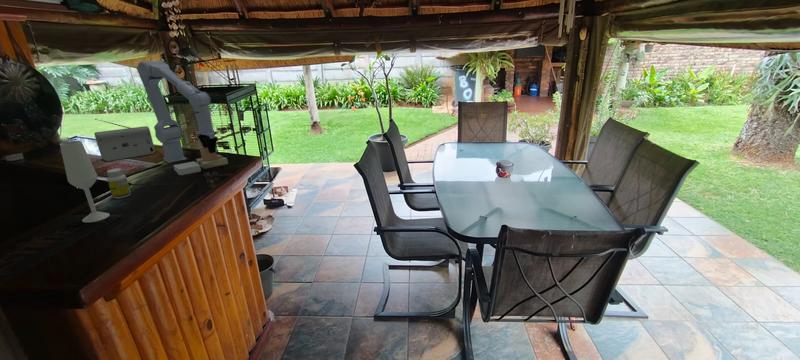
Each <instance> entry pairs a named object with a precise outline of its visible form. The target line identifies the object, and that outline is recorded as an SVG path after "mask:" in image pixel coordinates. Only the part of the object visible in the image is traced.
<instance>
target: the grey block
mask: <svg viewBox="0 0 800 360" xmlns="http://www.w3.org/2000/svg"><path fill="white" fill-rule="evenodd" d="M173 169H174V172H175V171H176V172H177V173H176V172H175V173H176V174H178V175H179V176H180V175H181V176H184V175H185V174H186V175H189V174H195V173H200V172H202V170H201V169H202V167H201V166H200V165H199V164H197V162H196V161H189V162H188V161H187V162H184V163H179V164H178V163H177V164H173Z"/></svg>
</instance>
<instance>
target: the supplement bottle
mask: <svg viewBox="0 0 800 360" xmlns="http://www.w3.org/2000/svg"><path fill="white" fill-rule="evenodd" d="M106 172H107V176H108V177H107V178H106V182H107V185H108V186H109V190H110V193H111V196H112V198H114V199H116V200H117V199H124V198H127V197H129V196H131V195H132V191H131V189H130V185H129V182H128V178H127V176H126V175H125V174H124V173H123V170H122V168H119V167H118V168H111V169H108V170H107V171H106Z"/></svg>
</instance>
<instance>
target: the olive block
mask: <svg viewBox="0 0 800 360" xmlns="http://www.w3.org/2000/svg"><path fill="white" fill-rule="evenodd" d="M217 158H218V159H216V160H211V161H204V160H203V159H202V157H199V158H195V162H196V163H197V164H199V165H200V168H201V169H204V170H205V169H210V168H215V167H221V166H225V165H229V160H228V158H227V157H224V156H222V155H221V154H218V153H217Z"/></svg>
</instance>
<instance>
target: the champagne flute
mask: <svg viewBox="0 0 800 360" xmlns="http://www.w3.org/2000/svg"><path fill="white" fill-rule="evenodd" d="M59 145H60V152H61V156H62V160H63V165H64V170H65V174H66V179H67V183H69V184H70V185H72V186H74V187H76V188H77V189H81V190H83V191H84V194H85V196H86V199H87V202H88V206H89V208H90V211H91V212H90V213H89V214H87V216H85V217H84V218H82V220H81V222H83V223H95V222H99V221H102V220H105V219H107V218H108V217H110V213H109V212H103V211H97V209H96V206H95V202H94V200H93V197H92V194H91V190H90V188H92V187H93V185H94V184H95V183H96V181H97V179H98V174H97V172H96V170H95V167H94V165H93V163H92V161H91V159H90V156H89V155H88V152H87V151H86V148H85V146H84V143H83V142H82V140H70V141H63V142H61V143H59Z"/></svg>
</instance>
